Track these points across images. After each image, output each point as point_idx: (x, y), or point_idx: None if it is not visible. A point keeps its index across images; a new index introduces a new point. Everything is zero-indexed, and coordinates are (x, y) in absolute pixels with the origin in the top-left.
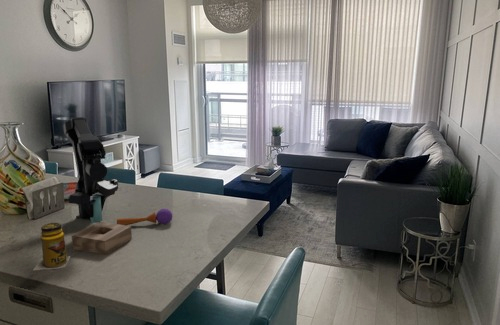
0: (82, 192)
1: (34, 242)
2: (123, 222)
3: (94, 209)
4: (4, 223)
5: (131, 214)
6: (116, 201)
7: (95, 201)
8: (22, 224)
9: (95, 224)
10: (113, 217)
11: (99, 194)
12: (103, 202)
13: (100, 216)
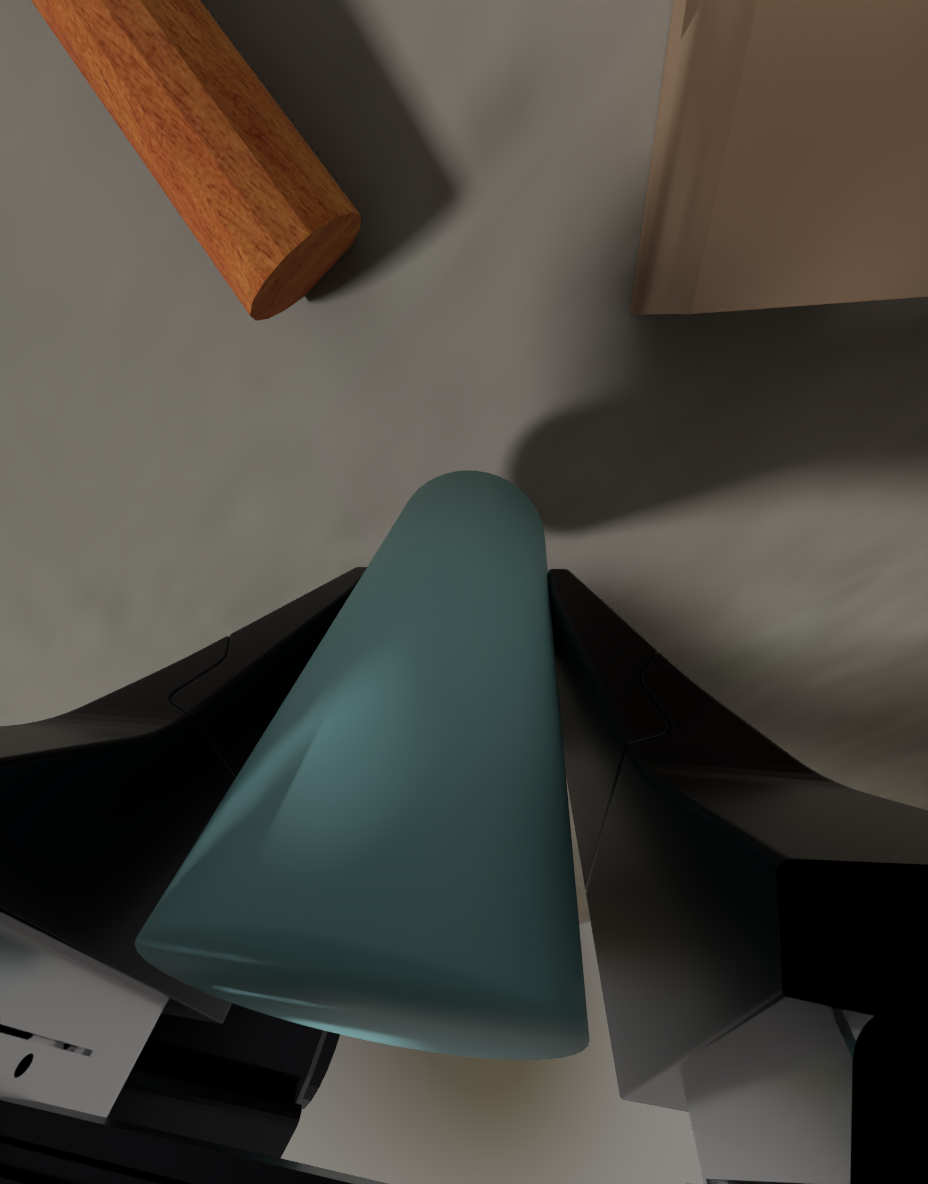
0: (275, 1040)
1: (888, 740)
2: (248, 78)
3: (543, 634)
4: (589, 921)
5: (9, 431)
6: (38, 719)
7: (515, 817)
8: (581, 883)
9: (901, 258)
10: (201, 548)
11: (88, 978)
12: (212, 669)
13: (458, 501)
